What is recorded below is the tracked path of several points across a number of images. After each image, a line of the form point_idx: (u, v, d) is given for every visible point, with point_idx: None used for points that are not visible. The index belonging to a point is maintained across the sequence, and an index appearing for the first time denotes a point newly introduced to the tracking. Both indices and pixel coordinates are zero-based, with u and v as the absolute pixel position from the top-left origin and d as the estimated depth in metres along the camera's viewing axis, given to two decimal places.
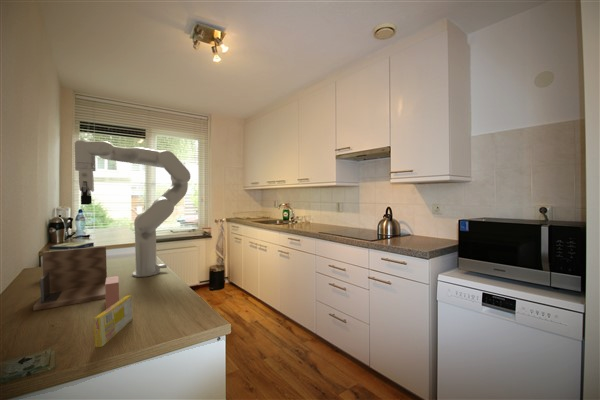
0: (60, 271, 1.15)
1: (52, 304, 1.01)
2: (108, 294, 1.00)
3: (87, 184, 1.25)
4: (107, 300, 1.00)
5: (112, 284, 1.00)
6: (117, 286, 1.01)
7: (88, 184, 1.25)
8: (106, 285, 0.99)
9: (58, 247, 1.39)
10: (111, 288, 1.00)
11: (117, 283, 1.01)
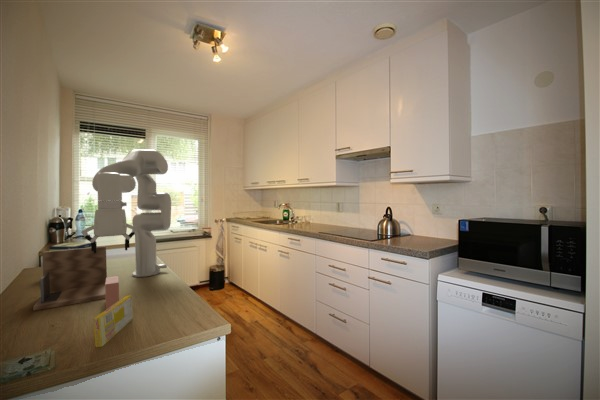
0: (60, 271, 1.15)
1: (52, 304, 1.01)
2: (108, 294, 1.00)
3: None
4: (107, 300, 1.00)
5: (112, 284, 1.00)
6: (117, 286, 1.01)
7: None
8: (106, 285, 0.99)
9: (58, 247, 1.39)
10: (111, 288, 1.00)
11: (117, 283, 1.01)
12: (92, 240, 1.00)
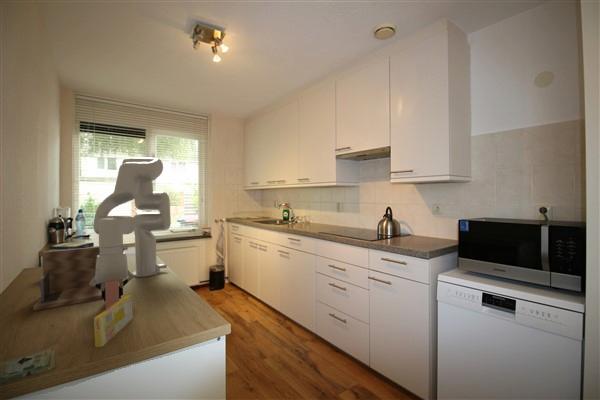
0: (60, 271, 1.15)
1: (52, 304, 1.01)
2: (108, 294, 1.00)
3: None
4: (107, 300, 1.00)
5: (112, 284, 1.00)
6: (117, 286, 1.01)
7: (127, 269, 1.08)
8: (106, 285, 0.99)
9: (58, 247, 1.39)
10: (111, 288, 1.00)
11: (117, 283, 1.01)
12: (102, 288, 1.02)
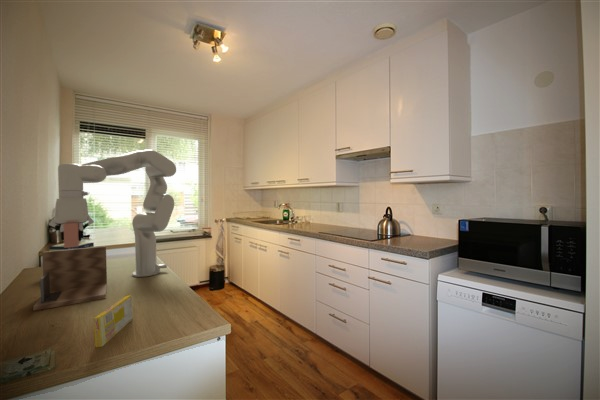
0: (60, 271, 1.15)
1: (52, 304, 1.01)
2: (66, 233, 1.05)
3: None
4: (65, 239, 1.05)
5: (70, 224, 1.06)
6: (75, 227, 1.07)
7: None
8: (64, 225, 1.05)
9: (58, 247, 1.39)
10: (69, 228, 1.06)
11: (75, 224, 1.07)
12: (61, 229, 1.07)
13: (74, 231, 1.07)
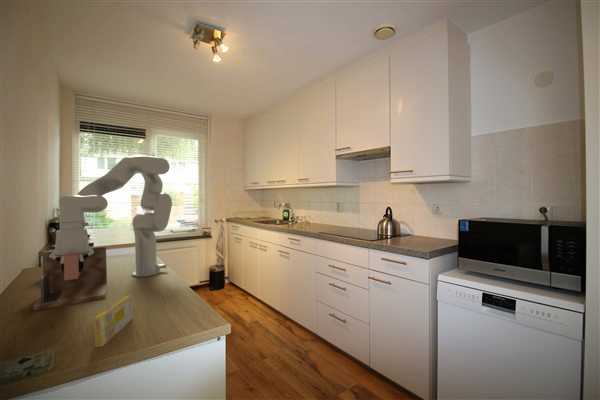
0: (60, 271, 1.15)
1: (52, 304, 1.01)
2: (67, 266, 1.05)
3: None
4: (66, 272, 1.05)
5: (71, 257, 1.06)
6: (76, 259, 1.07)
7: (88, 245, 1.14)
8: (65, 257, 1.05)
9: None
10: (70, 260, 1.06)
11: (76, 256, 1.07)
12: (62, 261, 1.08)
13: (74, 263, 1.07)
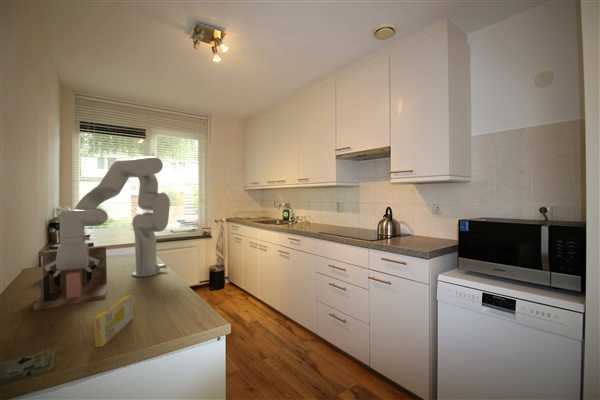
0: None
1: (52, 304, 1.01)
2: (69, 284, 1.06)
3: None
4: (68, 290, 1.06)
5: (73, 275, 1.07)
6: (78, 277, 1.08)
7: None
8: (67, 276, 1.06)
9: None
10: (72, 279, 1.07)
11: (78, 274, 1.08)
12: (55, 274, 1.07)
13: (76, 281, 1.07)
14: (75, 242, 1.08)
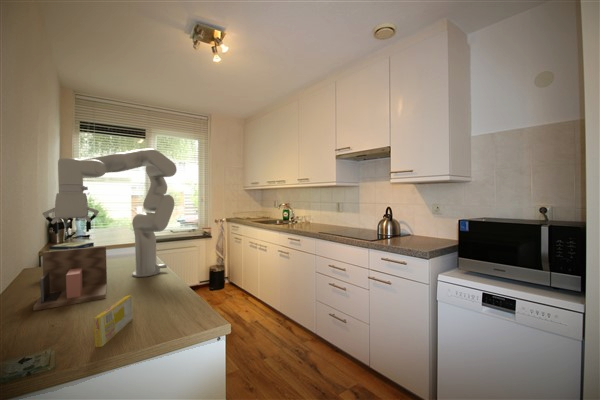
0: (60, 271, 1.15)
1: (52, 304, 1.01)
2: (69, 284, 1.06)
3: None
4: (68, 290, 1.06)
5: (73, 275, 1.07)
6: (78, 277, 1.08)
7: (88, 209, 1.14)
8: (67, 276, 1.06)
9: (58, 247, 1.39)
10: (72, 279, 1.07)
11: (78, 274, 1.08)
12: (53, 221, 1.06)
13: (76, 281, 1.07)
14: (74, 190, 1.08)
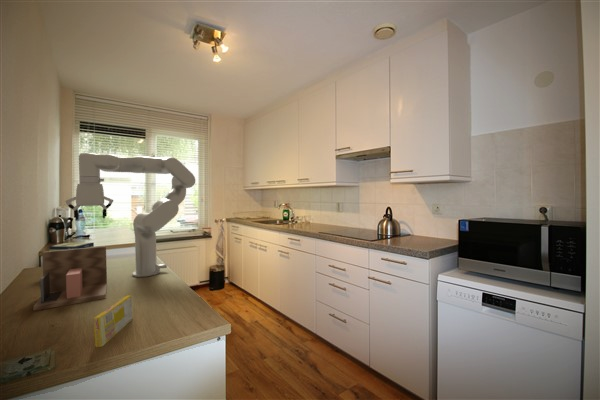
0: (60, 271, 1.15)
1: (52, 304, 1.01)
2: (69, 284, 1.06)
3: None
4: (68, 290, 1.06)
5: (73, 275, 1.07)
6: (78, 277, 1.08)
7: (104, 198, 1.29)
8: (67, 276, 1.06)
9: (58, 247, 1.39)
10: (72, 279, 1.07)
11: (78, 274, 1.08)
12: (74, 208, 1.21)
13: (76, 281, 1.07)
14: (92, 181, 1.23)
